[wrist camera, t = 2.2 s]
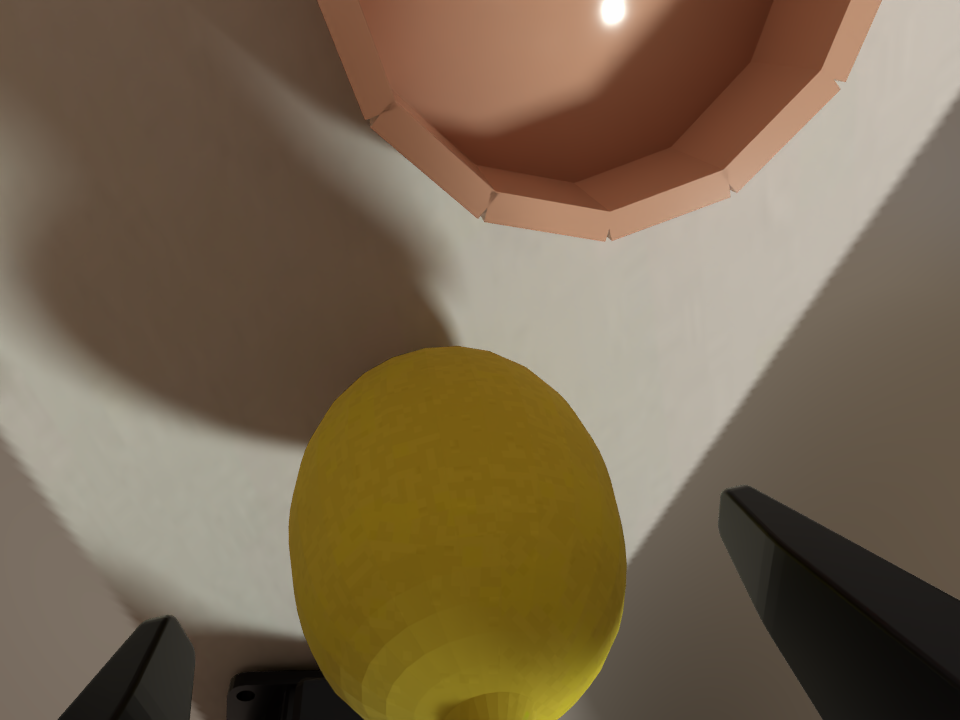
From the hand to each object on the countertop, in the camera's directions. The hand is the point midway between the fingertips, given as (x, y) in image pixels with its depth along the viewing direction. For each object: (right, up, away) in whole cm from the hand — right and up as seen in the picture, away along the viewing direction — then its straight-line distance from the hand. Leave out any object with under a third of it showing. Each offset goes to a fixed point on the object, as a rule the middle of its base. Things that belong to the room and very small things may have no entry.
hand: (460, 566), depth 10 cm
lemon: (-1, +3, +4) cm, 5 cm away
